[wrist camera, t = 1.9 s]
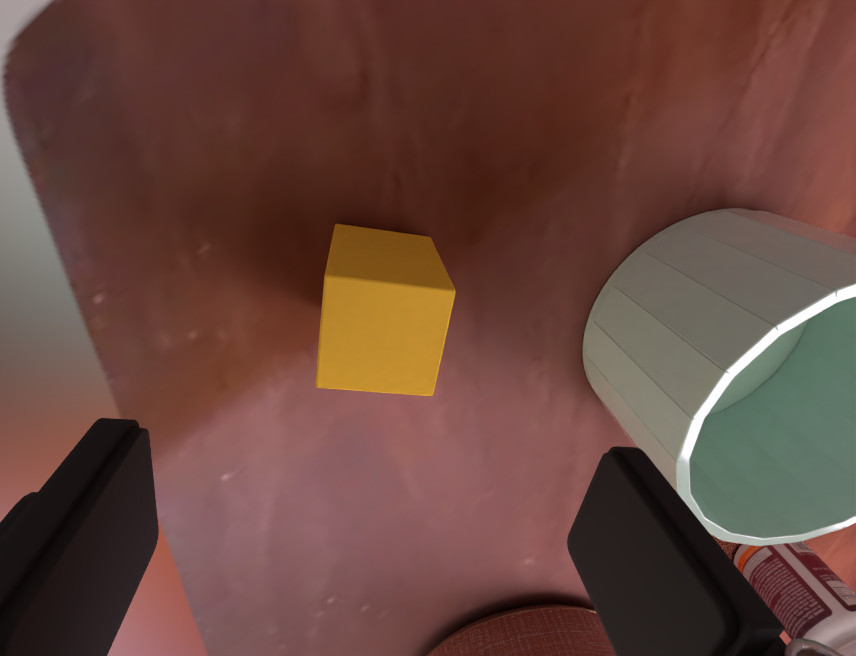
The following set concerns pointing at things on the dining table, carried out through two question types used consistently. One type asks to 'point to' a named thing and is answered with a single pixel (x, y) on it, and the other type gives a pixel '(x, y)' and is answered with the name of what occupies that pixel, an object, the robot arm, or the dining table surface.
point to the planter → (531, 634)
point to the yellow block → (383, 312)
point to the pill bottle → (802, 593)
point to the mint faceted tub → (737, 370)
